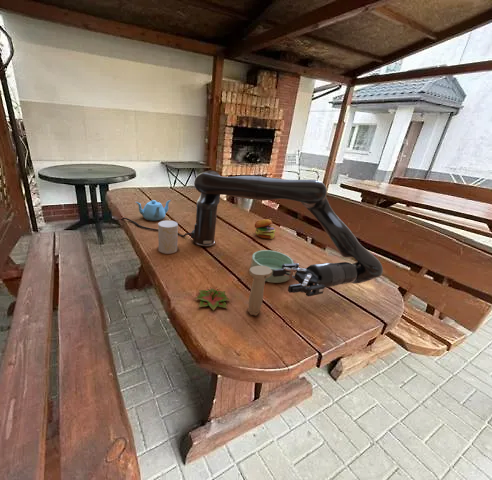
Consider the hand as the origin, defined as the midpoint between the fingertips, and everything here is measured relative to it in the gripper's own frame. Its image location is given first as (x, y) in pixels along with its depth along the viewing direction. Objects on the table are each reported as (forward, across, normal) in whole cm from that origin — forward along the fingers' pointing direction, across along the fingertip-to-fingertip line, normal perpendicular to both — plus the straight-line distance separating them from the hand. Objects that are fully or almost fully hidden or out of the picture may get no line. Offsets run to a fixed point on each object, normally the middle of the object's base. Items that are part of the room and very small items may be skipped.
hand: (280, 280), depth 78 cm
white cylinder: (+26, -47, +11) cm, 54 cm away
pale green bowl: (-10, -20, +10) cm, 25 cm away
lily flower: (+18, -8, +11) cm, 22 cm away
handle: (+8, 0, +11) cm, 13 cm away
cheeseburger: (-26, -54, +11) cm, 61 cm away
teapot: (+26, -87, +11) cm, 92 cm away
